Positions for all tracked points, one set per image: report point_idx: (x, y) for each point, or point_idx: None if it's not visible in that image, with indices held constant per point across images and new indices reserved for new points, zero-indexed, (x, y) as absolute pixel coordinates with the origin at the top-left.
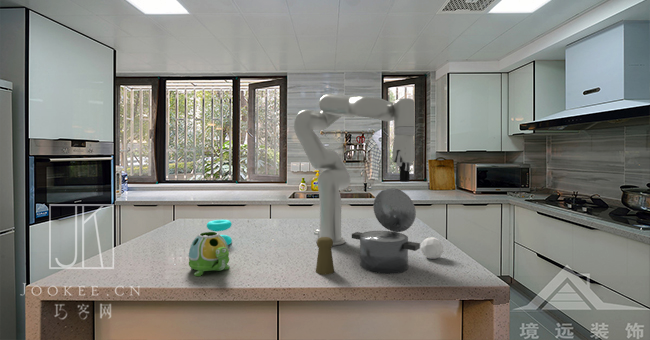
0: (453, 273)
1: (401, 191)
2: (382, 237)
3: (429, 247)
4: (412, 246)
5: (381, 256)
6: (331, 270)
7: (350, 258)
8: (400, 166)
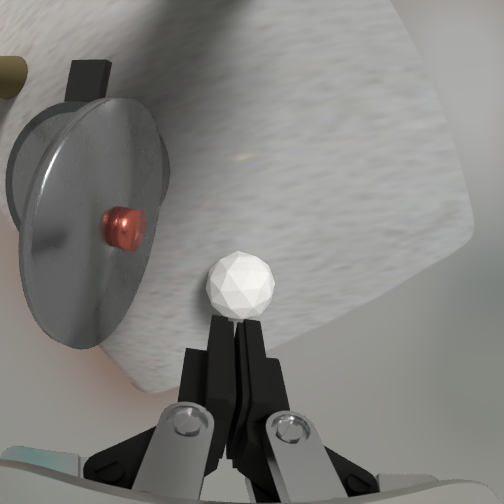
0: (152, 329)
1: (46, 328)
2: None
3: (208, 288)
4: None
5: None
6: (2, 97)
7: (111, 66)
8: (78, 467)
